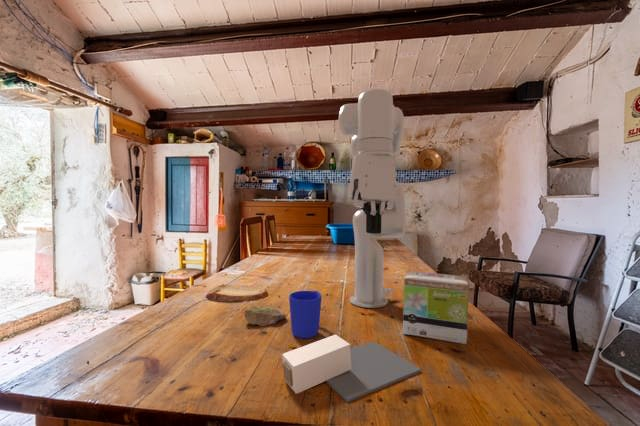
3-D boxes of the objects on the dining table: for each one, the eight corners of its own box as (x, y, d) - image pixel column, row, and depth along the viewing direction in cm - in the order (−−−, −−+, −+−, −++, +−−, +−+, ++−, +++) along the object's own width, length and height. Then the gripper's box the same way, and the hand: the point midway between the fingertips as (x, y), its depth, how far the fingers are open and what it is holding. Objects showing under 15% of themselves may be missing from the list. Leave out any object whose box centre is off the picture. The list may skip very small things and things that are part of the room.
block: (335, 334, 62) (280, 354, 55) (349, 344, 57) (291, 367, 51) (337, 357, 62) (282, 380, 56) (351, 369, 58) (293, 395, 51)
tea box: (402, 335, 75) (403, 277, 75) (405, 321, 85) (405, 269, 84) (468, 345, 70) (469, 283, 70) (463, 329, 80) (464, 274, 79)
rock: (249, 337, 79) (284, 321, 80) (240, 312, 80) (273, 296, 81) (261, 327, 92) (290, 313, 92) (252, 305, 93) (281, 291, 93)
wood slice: (272, 295, 109) (272, 285, 109) (230, 308, 95) (230, 297, 95) (242, 286, 120) (242, 277, 120) (200, 297, 106) (200, 286, 106)
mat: (373, 343, 71) (373, 341, 71) (420, 372, 59) (420, 369, 59) (306, 364, 61) (306, 361, 61) (347, 402, 49) (347, 399, 49)
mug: (329, 324, 82) (330, 288, 82) (314, 343, 71) (315, 301, 70) (302, 320, 85) (302, 285, 84) (283, 338, 73) (283, 298, 73)
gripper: (387, 155, 72) (386, 230, 73) (336, 149, 65) (336, 233, 65) (411, 150, 66) (410, 233, 67) (358, 143, 58) (357, 236, 59)
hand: (373, 232), depth 66 cm, fingers closed
